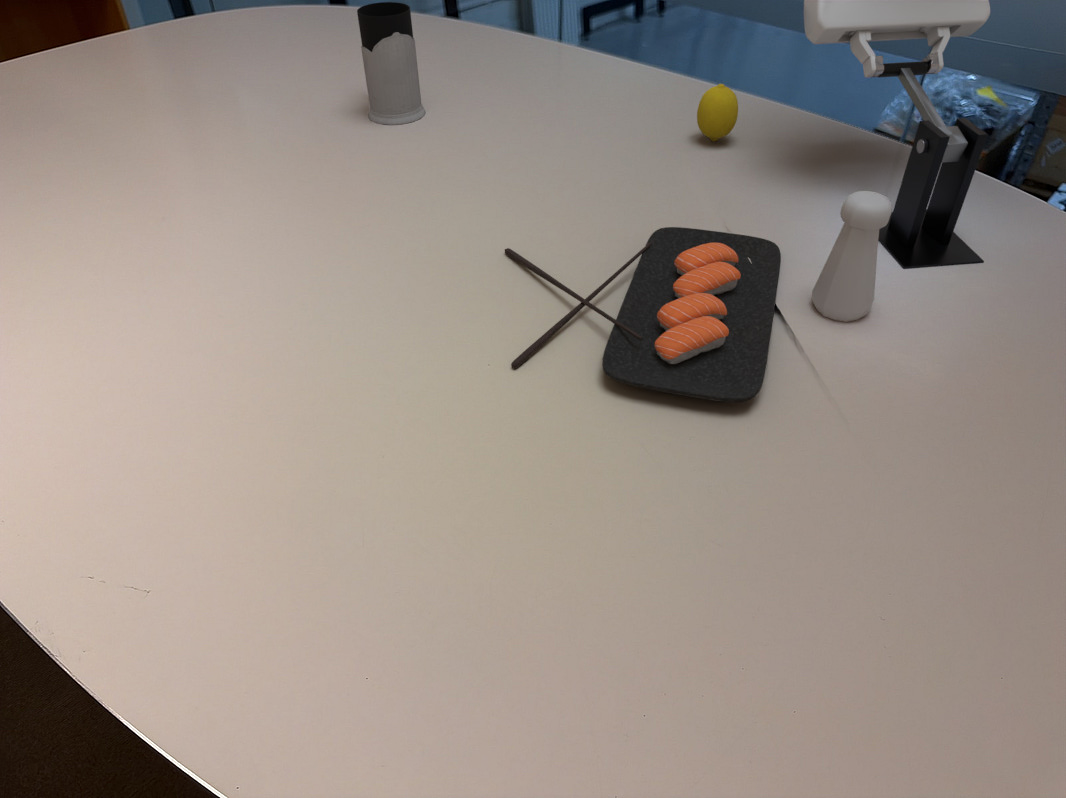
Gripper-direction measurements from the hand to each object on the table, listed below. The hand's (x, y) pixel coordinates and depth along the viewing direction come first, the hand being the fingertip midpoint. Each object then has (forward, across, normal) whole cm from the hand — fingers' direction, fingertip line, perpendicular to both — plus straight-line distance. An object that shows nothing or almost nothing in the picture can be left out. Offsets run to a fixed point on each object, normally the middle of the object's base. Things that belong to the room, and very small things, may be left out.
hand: (903, 73), depth 91 cm
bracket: (+19, 0, -2) cm, 19 cm away
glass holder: (-17, +60, -40) cm, 74 cm away
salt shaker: (+28, +14, +6) cm, 32 cm away
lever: (+6, 0, +2) cm, 6 cm away
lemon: (-3, +14, -25) cm, 29 cm away
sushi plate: (+24, +35, +3) cm, 43 cm away
